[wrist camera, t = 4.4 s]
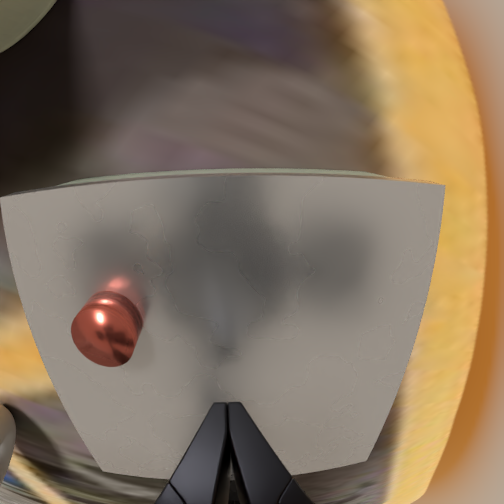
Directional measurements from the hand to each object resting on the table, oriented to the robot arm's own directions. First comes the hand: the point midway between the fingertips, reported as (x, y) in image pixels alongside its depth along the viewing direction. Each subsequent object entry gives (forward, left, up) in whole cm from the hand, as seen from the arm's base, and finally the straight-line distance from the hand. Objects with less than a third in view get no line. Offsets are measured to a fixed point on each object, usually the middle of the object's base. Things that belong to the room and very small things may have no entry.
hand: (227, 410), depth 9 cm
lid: (-2, 0, -3) cm, 3 cm away
